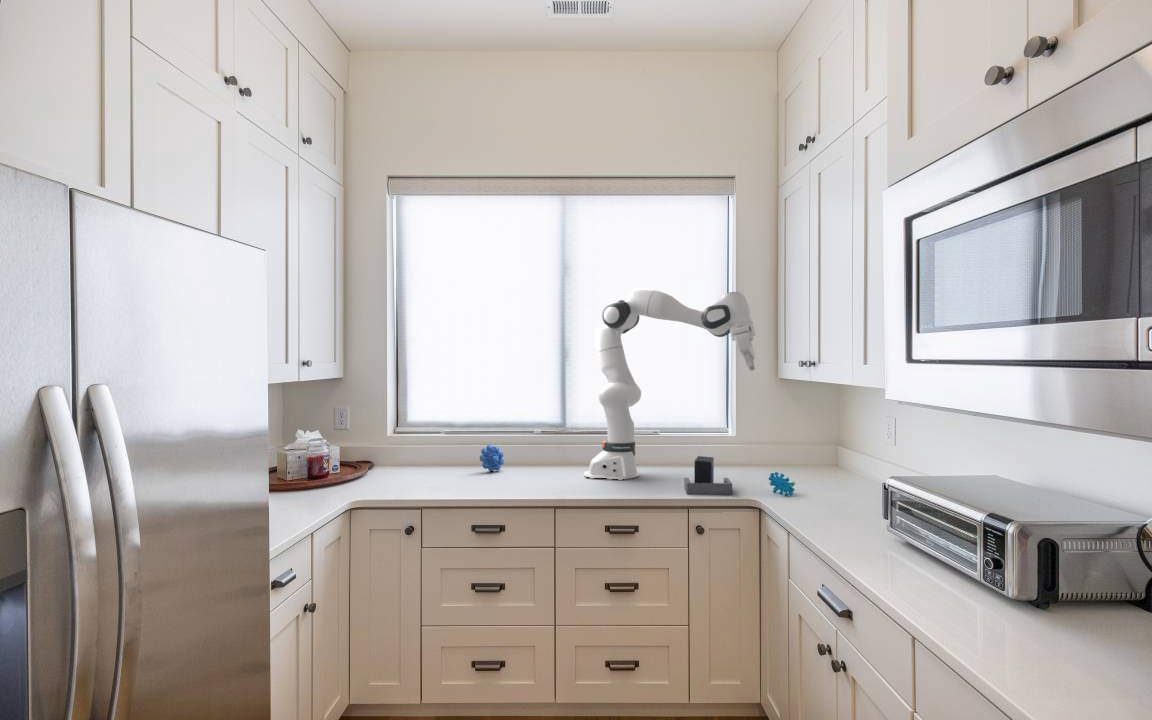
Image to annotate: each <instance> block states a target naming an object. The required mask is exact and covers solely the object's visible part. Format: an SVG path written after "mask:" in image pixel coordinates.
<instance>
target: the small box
mask: <svg viewBox="0 0 1152 720" xmlns="http://www.w3.org/2000/svg"><path fill="white" fill-rule="evenodd" d="M714 462H715V461H714V457H713V456H702V455H698V456H697V457H696V458H695V460H694V473H693V474H694V478H693V479H694V481H693V483H714V481H715V480H714V477H715V475H714V474H715V473H714V470H715V469H714V467H715V463H714Z"/></svg>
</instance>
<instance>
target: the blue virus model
mask: <svg viewBox="0 0 1152 720" xmlns="http://www.w3.org/2000/svg"><path fill="white" fill-rule="evenodd" d="M784 477H785V474H784V473H780V475H779V472H777V471H775V472H771V473H770V474H769V477H768V480H769V481H770V482H769V485H770V487H771V486H774V487H773V489H772V493H773V494H775V493H776V492H777V491H779V492H778V494H779V495H780V496H783V495H784V496H785V497H786V496H788V497H790V496H793V495H794V491H796V490H795V488H794V486H795V485H796V483H795V481H792V482H790V481H791V479H790V478H789V477H786V478H784Z"/></svg>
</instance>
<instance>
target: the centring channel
mask: <svg viewBox="0 0 1152 720" xmlns="http://www.w3.org/2000/svg"><path fill="white" fill-rule="evenodd" d="M683 480H684V481H683V482H684V483H683V484H684V486H683V487H684V490H685V493H686V495H698V496H699V495H700V496H701V495H702V496H703V495H704V496H705V495H709V496H710V495H711V496H712V495H713V496H714V495H715V496H733V483H732V481H731V480H730V478H728V477H723V482H713V483H694V482H691V480H690V478H689V477H683Z"/></svg>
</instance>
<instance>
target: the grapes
mask: <svg viewBox="0 0 1152 720" xmlns="http://www.w3.org/2000/svg"><path fill="white" fill-rule="evenodd" d="M480 451H481V455H480V456H479V460H480V462H482V468H483V469H484V470H485V469H487V470H488V471H489V472H490V471H494V472H495V471H497V470H499V471H500V470H501V468H502V467H501V466H503V465H504V464H505V460H504V459H503V457H504V455H505V454H504V452H503V451H501V450H500V447H499V446H498V445H491V444H487V445H486V448H485V447H484V448H481V450H480Z"/></svg>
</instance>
